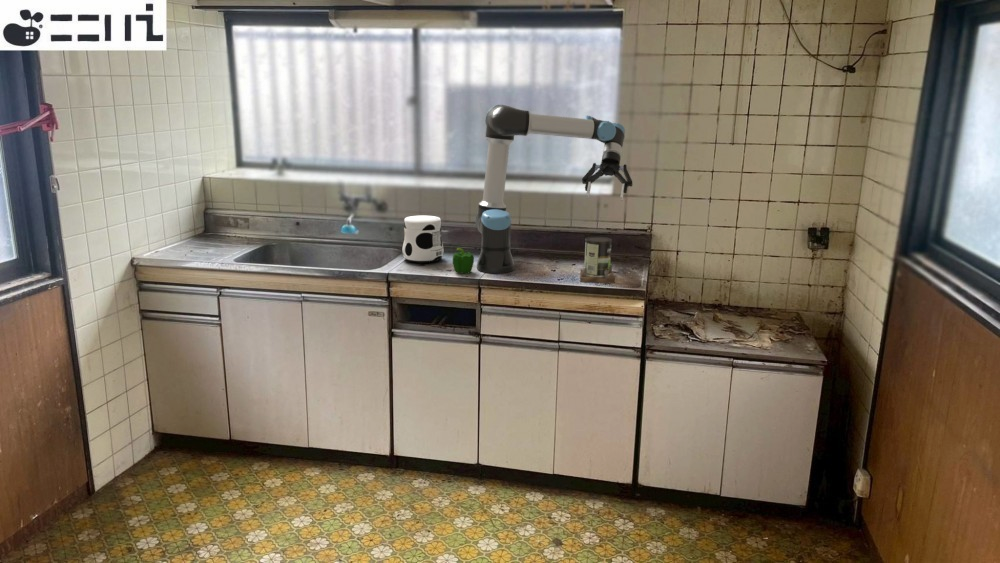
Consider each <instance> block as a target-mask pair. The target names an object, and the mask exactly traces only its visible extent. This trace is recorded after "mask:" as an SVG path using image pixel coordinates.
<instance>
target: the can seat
mask: <svg viewBox="0 0 1000 563" xmlns="http://www.w3.org/2000/svg"><path fill="white" fill-rule="evenodd" d="M586 275H587V268H584V267H583V268H582V269H580V278H579V279H580V280H579V282H580V283H598V282H600V284H601V283H602V284H603V283H604V284H605V283H606V284H615V282H616V280H615V273H614V270H613V264H612V263H610V275H609V270H605V273H604V277H589V276H586Z"/></svg>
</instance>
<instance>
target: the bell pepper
mask: <svg viewBox="0 0 1000 563" xmlns="http://www.w3.org/2000/svg"><path fill="white" fill-rule="evenodd" d="M456 251H459V252H454V253H453V255H452V265H453V270H454V272H455V273H456V274H464V275H466V274H467V275H468V274H470V273H472V272H471V271H472V270H473V268H474V262H475V261H474V260H475V258H474V255H473V254H472V253H471V252H470V251H468V252H464V249H463V248H460V247H457V248H456Z"/></svg>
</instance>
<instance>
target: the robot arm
mask: <svg viewBox="0 0 1000 563" xmlns="http://www.w3.org/2000/svg"><path fill="white" fill-rule="evenodd" d="M484 122H485V126H486V127H485V128H486V130H485V139H486V140H487V142H488V146H487V156H486V165H485V166H486V167H485V175H484V187H483V195H482V200H481V201H479V202H478V207H477V213H476V216H475V218H474V219H475V227H476V229H477V231H478V232H480V234H481V249H480V254H479V256H478V260H477V263H476V269H477V270H478V271H479V272H481V273H482V272H483V273H487V274H504V273H505V274H506V273H510V272H513V271H514V270H515V263H514V260H513V259H514V258H513V256H512V253H511V229H512V228H511V227H512V226H511V225H512V219H511V218H512V217H511V214H510V212H508V211H507V205H506V204H505V203H504V197H505V190H506V181H507V180H506V179H507V169H508V162H509V150H510V144H511V143H513V142H514V139H515V136H523V137H526V136H528V135H530V134H532V135H533V134H534V135H541V136H553V137H564V138H565V137H566V138H575V139H577V138H578V139H586V140H587V139H588V140H597V141H599V142H601V143H602V144H604V145H603V146H604V147H603V150H602V156H601V157H602V158H601V162H600V164H597V163H596V162H593V163H592V167H590V169H588V171H587V172H586V173H585V175H584V176H583V177H582V178H581V182H582V184H584V185H585V186H584V190H585V191H586V194H585V195H586V196H585V197H586V199H587V200H589V199H590V195H591V194H590V193H591V188H592V183H594V182H595V181H597V180H598V179H599V178H602V177H603V176H610V177H613V176H614V177H615V178H617V180H618V181H619V182H620V183H621V185H622V186H621V191H620V196H619V199H620V201H621V202H623V201H624V194H627V193H628V188H629V187H630V188H631V187H633V179H632V178H631V175H630V173H629V171H628V168H627V167H628V166H627V164H623V165H620V164H621V157H622V153H623V152H622V151H623V147H624V141H625V136H626V135H625V134H626V131H625V127H624V126H623V124H621V123H616V122H611V121H609V120H602V119H598V118H595V117H593V116H591V115H585V116H584V117H583V118H579V117H570V116H569V117H567V116H557V115H550V114H549V115H548V114H547V115H546V114H540V113H539V114H537V113H531V111H530V110H525V109H524V110H523V109H519V108H515V107H512V106H509V105H506V104H497V105H494V106H492V107H491V108H490V109H489V110H487V113H486V115H485V120H484ZM620 170H621V172H623V175H624V176H623V175H622V174H621V173H620Z"/></svg>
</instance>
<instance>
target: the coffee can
mask: <svg viewBox="0 0 1000 563" xmlns="http://www.w3.org/2000/svg"><path fill="white" fill-rule="evenodd" d="M584 241H585V245H584V267H583V268H587V275H586V276H589V277H604V273H605V270H609V275H610V264H611V258H612V257H611V256H612V243H613V239H612V238H610V237H605V236H588V237H585V239H584Z"/></svg>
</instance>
